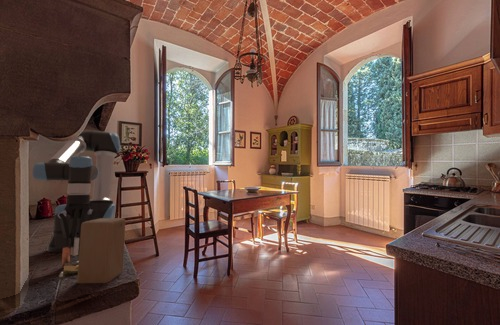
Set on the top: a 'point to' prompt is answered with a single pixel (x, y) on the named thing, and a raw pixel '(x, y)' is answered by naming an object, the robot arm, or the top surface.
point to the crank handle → (68, 262)
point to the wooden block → (101, 250)
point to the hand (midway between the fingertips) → (74, 254)
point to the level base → (66, 274)
